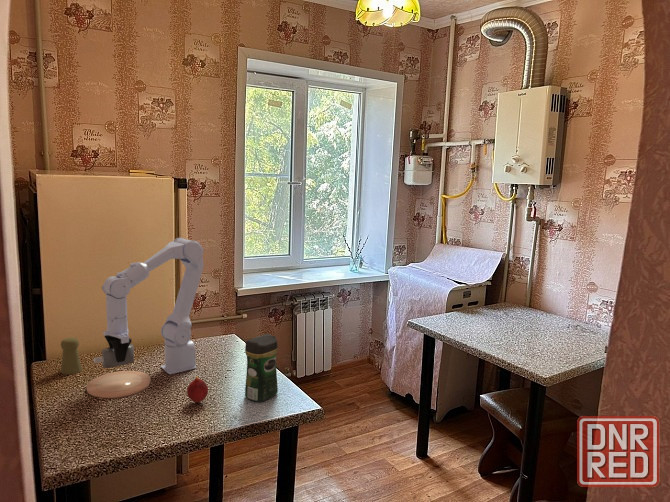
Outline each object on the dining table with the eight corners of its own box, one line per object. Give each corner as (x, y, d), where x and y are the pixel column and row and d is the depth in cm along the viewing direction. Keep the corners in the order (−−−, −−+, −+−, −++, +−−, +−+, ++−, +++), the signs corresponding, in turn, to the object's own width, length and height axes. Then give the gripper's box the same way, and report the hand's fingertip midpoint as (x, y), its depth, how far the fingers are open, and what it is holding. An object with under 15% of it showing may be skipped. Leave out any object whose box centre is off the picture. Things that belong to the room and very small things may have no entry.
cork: (72, 375, 154) (70, 342, 152) (56, 373, 155) (54, 340, 153) (85, 368, 159) (84, 336, 158) (70, 366, 161) (68, 334, 159)
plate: (139, 368, 161) (138, 366, 161) (159, 387, 147) (159, 384, 147) (79, 382, 149) (79, 379, 149) (96, 404, 136) (96, 401, 135)
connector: (131, 358, 151) (131, 343, 151) (135, 362, 148) (135, 346, 148) (92, 366, 144) (92, 350, 143) (96, 370, 141) (95, 354, 140)
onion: (212, 400, 140) (211, 374, 139) (200, 409, 135) (200, 382, 134) (195, 396, 142) (194, 371, 141) (183, 405, 137) (182, 378, 136)
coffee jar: (263, 386, 151) (264, 329, 148) (281, 394, 146) (282, 335, 143) (239, 397, 143) (240, 337, 140) (258, 405, 138) (259, 344, 135)
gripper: (96, 312, 148) (97, 354, 150) (110, 324, 137) (112, 369, 139) (120, 309, 152) (121, 350, 154) (135, 320, 141) (137, 364, 143)
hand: (118, 359), depth 147 cm, fingers closed on connector, 4 cm apart
